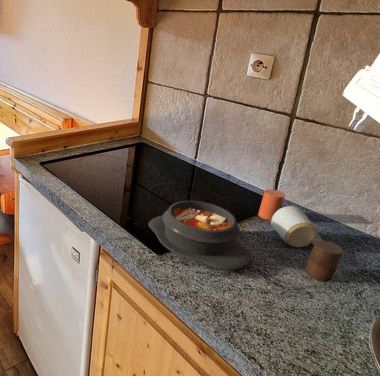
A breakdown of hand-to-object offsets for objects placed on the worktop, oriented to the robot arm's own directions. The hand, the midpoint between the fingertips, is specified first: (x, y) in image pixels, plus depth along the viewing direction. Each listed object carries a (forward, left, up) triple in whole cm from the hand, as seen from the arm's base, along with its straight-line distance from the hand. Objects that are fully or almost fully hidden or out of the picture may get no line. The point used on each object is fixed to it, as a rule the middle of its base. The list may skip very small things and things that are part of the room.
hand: (354, 129), depth 95 cm
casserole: (+36, +14, -26) cm, 46 cm away
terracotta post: (+12, -4, -26) cm, 29 cm away
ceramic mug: (+10, +8, -26) cm, 30 cm away
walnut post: (+12, +22, -26) cm, 36 cm away
